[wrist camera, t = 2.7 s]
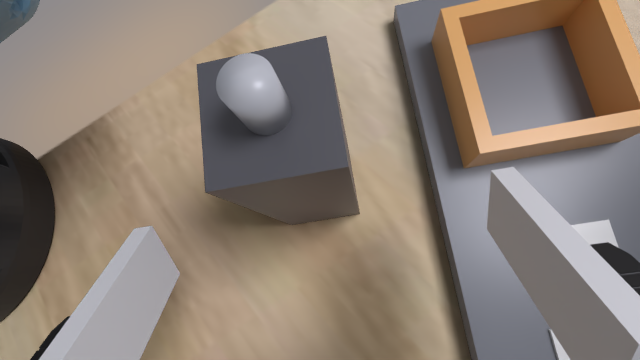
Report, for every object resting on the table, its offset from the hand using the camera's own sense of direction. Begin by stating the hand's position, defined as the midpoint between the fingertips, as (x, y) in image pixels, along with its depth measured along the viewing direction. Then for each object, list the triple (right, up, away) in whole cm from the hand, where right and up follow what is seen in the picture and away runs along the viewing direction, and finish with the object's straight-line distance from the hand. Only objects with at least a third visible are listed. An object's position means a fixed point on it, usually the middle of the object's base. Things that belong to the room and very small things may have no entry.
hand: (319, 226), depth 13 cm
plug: (0, +1, +9) cm, 9 cm away
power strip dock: (+13, +2, +7) cm, 15 cm away
